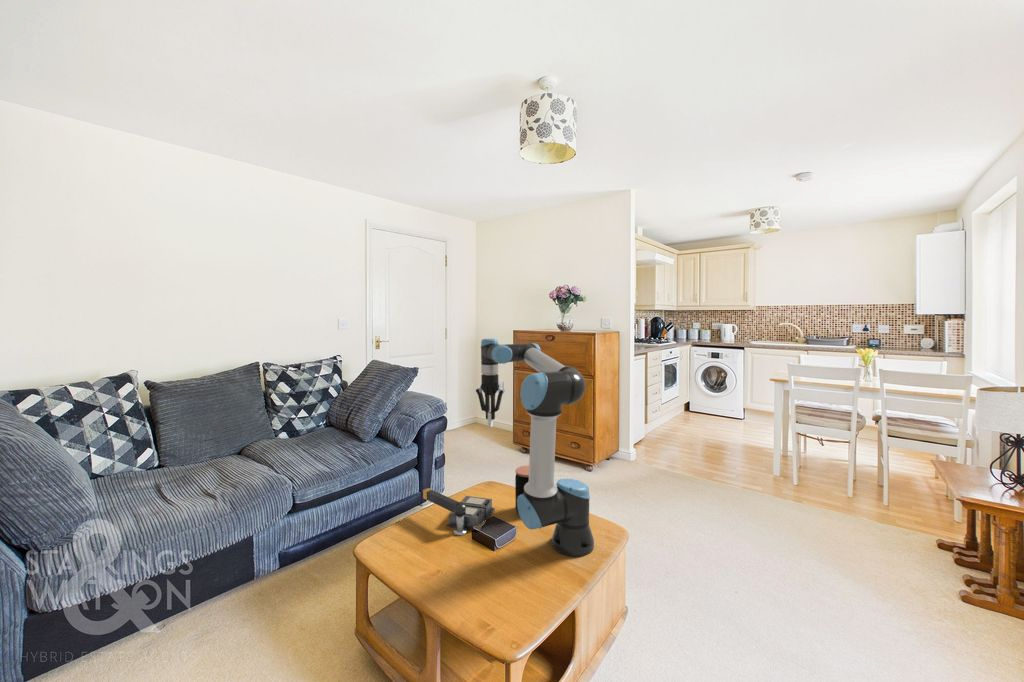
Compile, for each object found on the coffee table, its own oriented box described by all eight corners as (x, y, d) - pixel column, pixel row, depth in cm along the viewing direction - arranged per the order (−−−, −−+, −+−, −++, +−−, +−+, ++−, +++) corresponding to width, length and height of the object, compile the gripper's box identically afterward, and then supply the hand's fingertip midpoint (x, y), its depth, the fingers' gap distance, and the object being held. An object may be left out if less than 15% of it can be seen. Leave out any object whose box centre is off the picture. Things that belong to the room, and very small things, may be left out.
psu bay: (494, 510, 176) (494, 497, 175) (479, 531, 158) (479, 517, 158) (464, 506, 180) (464, 493, 179) (446, 526, 162) (446, 512, 162)
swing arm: (468, 513, 158) (468, 504, 158) (459, 517, 154) (459, 508, 154) (430, 495, 173) (430, 487, 173) (421, 499, 170) (421, 490, 170)
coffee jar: (537, 519, 168) (537, 476, 167) (512, 515, 171) (512, 473, 170) (542, 507, 178) (542, 466, 177) (519, 504, 181) (519, 464, 180)
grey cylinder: (468, 529, 160) (468, 512, 159) (463, 536, 155) (463, 518, 154) (457, 528, 161) (456, 510, 161) (451, 534, 156) (451, 516, 156)
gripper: (506, 373, 181) (506, 425, 183) (479, 372, 185) (479, 423, 187) (501, 375, 174) (501, 429, 176) (472, 374, 178) (473, 427, 179)
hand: (490, 426), depth 181 cm, fingers closed
